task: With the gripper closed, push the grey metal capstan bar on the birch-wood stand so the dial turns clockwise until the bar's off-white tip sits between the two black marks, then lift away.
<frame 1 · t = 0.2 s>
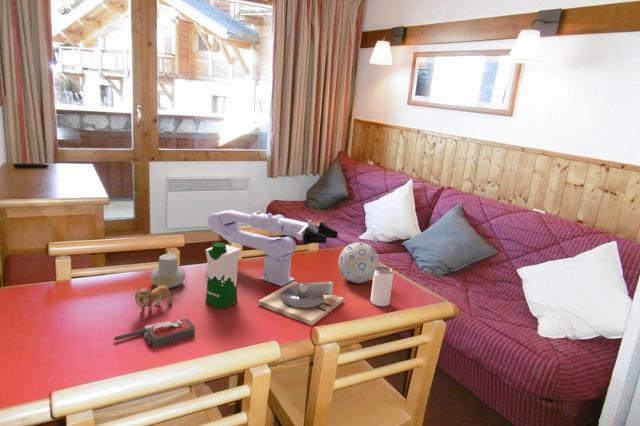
hand: (331, 237, 147), 21 cm above the table, tool horizontal, fingers open, 7 cm apart
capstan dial: (307, 291, 145), point 4 cm above the table, hinge at 50.0°
can: (379, 303, 152), on the table
lion figurine: (154, 311, 133), on the table
walkie-talkie: (157, 339, 119), on the table
milk carton: (221, 302, 142), on the table
air freshener: (168, 285, 150), on the table
puzzle ball: (356, 281, 168), on the table
stand plate: (301, 303, 146), on the table
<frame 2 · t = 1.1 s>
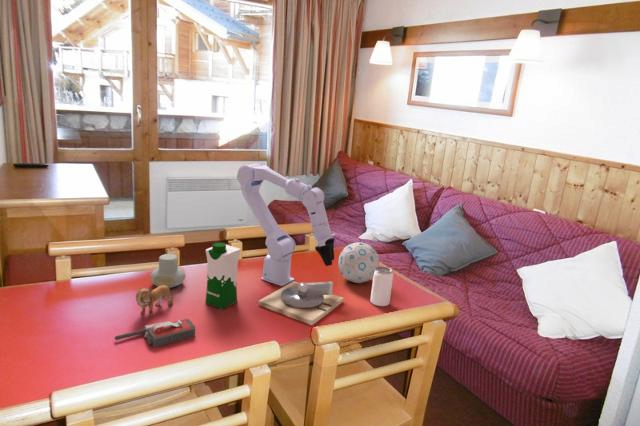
hand: (330, 262, 151), 12 cm above the table, tool tilted 20°, fingers open, 7 cm apart
nothing on the table moved.
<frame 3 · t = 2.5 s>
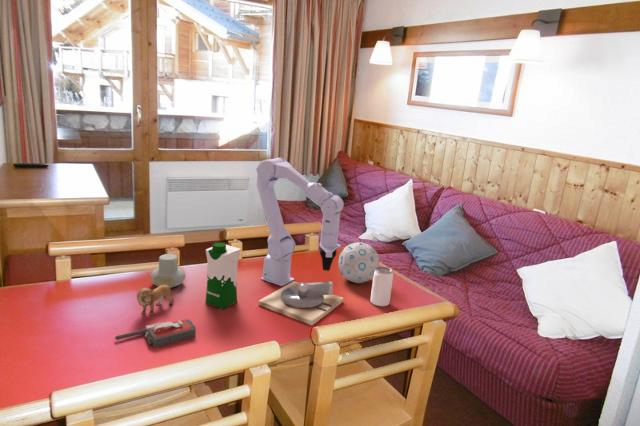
hand: (326, 269, 152), 9 cm above the table, tool pointing down, fingers closed
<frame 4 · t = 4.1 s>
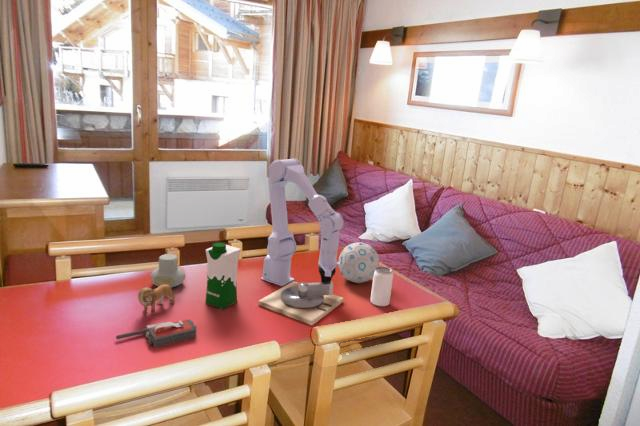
hand: (325, 287, 150), 4 cm above the table, tool pointing down, fingers closed
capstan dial: (307, 291, 145), point 4 cm above the table, hinge at 48.6°, touching gripper
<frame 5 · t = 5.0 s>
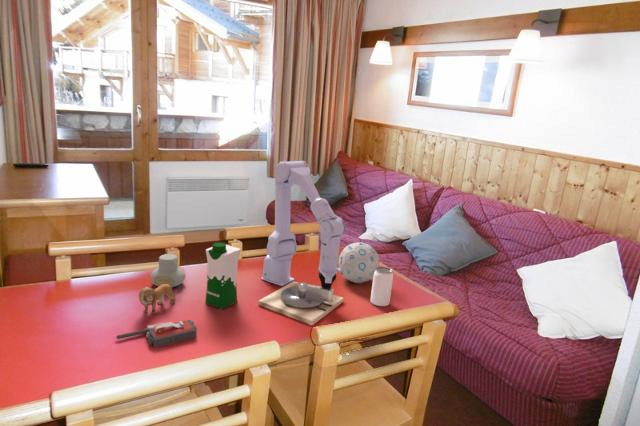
hand: (325, 294, 145), 4 cm above the table, tool pointing down, fingers closed, pressing on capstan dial
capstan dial: (307, 292, 144), point 4 cm above the table, hinge at 15.4°, touching gripper
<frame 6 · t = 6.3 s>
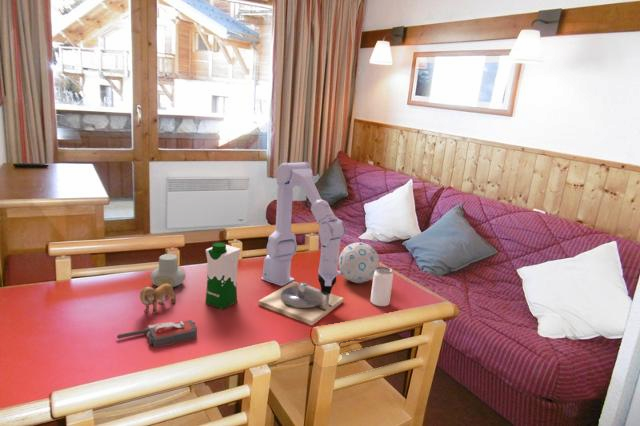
hand: (325, 297, 143), 4 cm above the table, tool pointing down, fingers closed
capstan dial: (306, 293, 144), point 4 cm above the table, hinge at -7.7°, touching gripper
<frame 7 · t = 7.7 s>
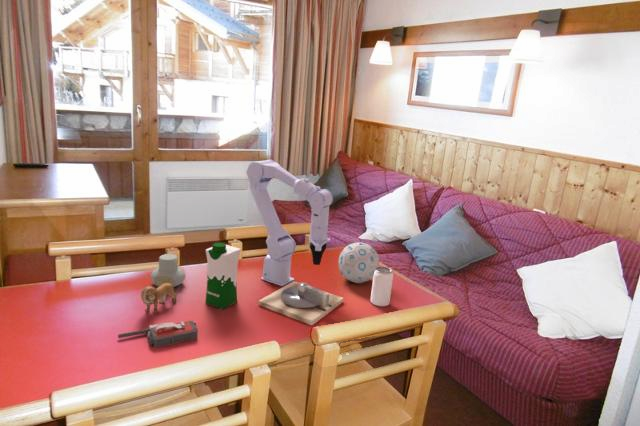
hand: (316, 264, 152), 10 cm above the table, tool pointing down, fingers closed
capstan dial: (306, 293, 144), point 4 cm above the table, hinge at -7.8°
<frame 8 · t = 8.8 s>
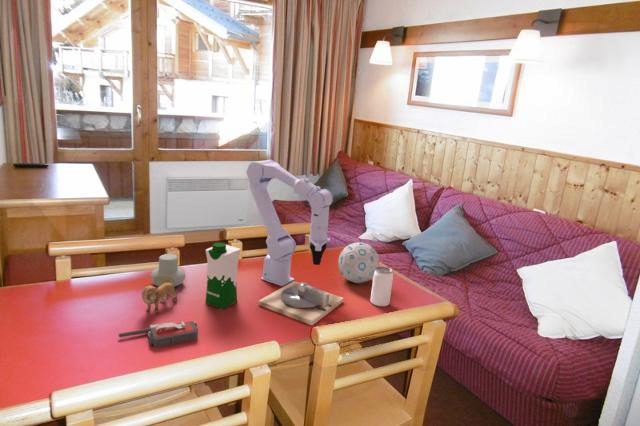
hand: (316, 264, 152), 10 cm above the table, tool pointing down, fingers closed
at the end: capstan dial at -8° (first picture: +50°) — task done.
